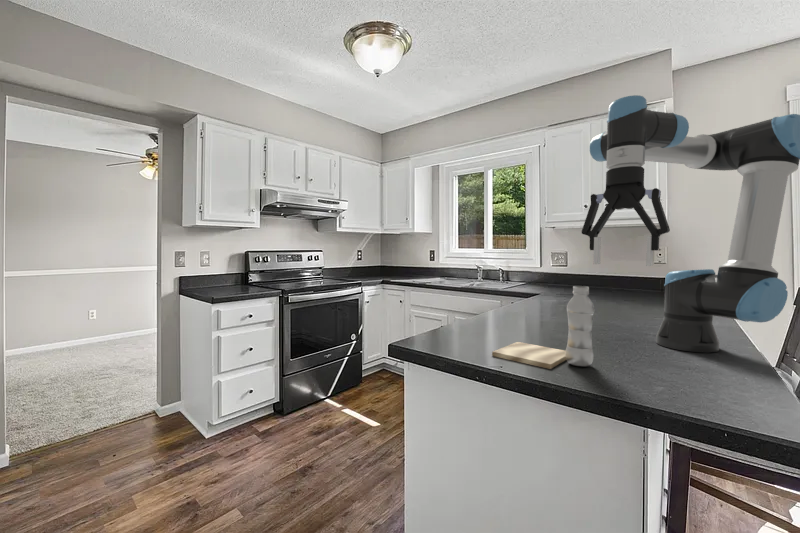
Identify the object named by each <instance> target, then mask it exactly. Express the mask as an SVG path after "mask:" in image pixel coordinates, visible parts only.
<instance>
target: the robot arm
mask: <svg viewBox="0 0 800 533" xmlns="http://www.w3.org/2000/svg"><path fill="white" fill-rule="evenodd" d="M608 106H609V107H608V112H607V120H606V123H607V129H606V130H607V131H603V132H602V133H600V134H598V135H596V136H594V137H593V138H592V139H591V141H590V143H589V154H590V156H591V158H592V159H593V160H594V161H596V162H600V163H602V162H606V169H608V170H607V171H606V172H605V190H604V192H603V193H600V194H599V193H598V194H596V193H592V194H591V195H590V205H589V208H588V211H587V214H586V217H585V220H584V223H583V226H582V229H581V234H582V235H585V236H588V238H589V250H590V251H593V265H601V253H602V252H601V249H602V246H601V245H602V237H599V234H600V232H601V231H602V230H603V228H604V226H605V225H606V223H607V222H608V221H609V219H610V217H611V216H612V215H613V213H614V212H615V210H618V211H619V210H623V209H627V210H634V211H635V212H636V213H637V215H638V217H639V218H640V219H641V221H642V222H643V224H644V226H645V227H646V229H647V230H648V231H649V233H650V235H647V236H646V259H645V260H646V261H645V266H646V267H647V266H648V267H651V266H653V265H654V264H653V263H654V251H659V249H660V236H662V235H664V234H667V233H670V225H669V223H668V219H667V216H666V214H665V211H664V210H665V209H664V207H663V205H662V201H661V195H662V194H661V192H662V191H661V190H660V189H659V188H657V187H656V188H653V189H651V188H650V189H646V188H645V168H644V167H643V166H644V165H645V162H653V163H655V162H656V163H664V164H665V163H666V164H677V165H684V166H685V167H687V168H689V169H694V170H695V169H697V170H707V171H723V172H724V171H735V170H736V171H737V173H739V175H741V176H742V182H741V187H740V193H739V198H738V203H737V207H736V208H737V209H736V215H735V218H734V225H733V229H732V236H731V240H730V245H729V246H730V247H729V251H728V256H727V260H726V262H724V263H723V264H721V265H719V267H718V270H717V274H716V272H715V269H710V268H709V269H708V268H707V269H705V268H703V269H688V270H687V269H686V270H673V271H669V272H668V273H667V274H666V275H665V279H664V284H663V286H664V289H663V290H664V296H663V297H664V298H663V300H664V301H663V302H664V303H663V319H662V322H661V323H660V326H659V329H658V331H657V333H656V335H655V343H656V344H658V345H660V346H661V347H665V348H669V349H672V350H673V349H674V350H678V351H683V352H693V353H704V354H705V353H717V352H719V351H720V341H719V338H718V334H717V332H716V330H715V327H714V324H713V319H714V317H718V318H725V319H731V320H737V321H741V322H746V323H747V322H752V323H760V324H761V323H767V322H770V321H772V320H774V319H775V318H776V317H778V316H779V315H780V313H781V312H782V311H783V309H784V308H785V305H786V303H787V300H788V294H789V293H788V290H787V288H788V287H787V284H786V283H785V281H784V280H782V279H780V278H778V276H779V272H778V271H777V269H776V268H774V267H773V266H772V263H773V258H774V252H775V248H776V242H777V238H778V231H779V226H780V221H781V217H782V210H783V205H784V200H785V194H786V190H787V184H788V178H789V176H790V175H791V174H793V173H794V172H796V171H797V170H798V169H799V165H800V114H798V113H791V114H786V115H782V116H774V117H773V118H769V119H765V120H761V121H759V122H755V123H751V124H748V125H743V126H740V127H737V128H736V127H735V128H732V129H728V130H724V131H721V132H717V133H711V134H698V135H695V136H687V135H688V133H689V129H690V127H689V126H690V125H689V124H690V123H689V121H688V119H687V118H686V117H685V116H683V115H680V114H677V113H674V112H664V111H655V110H651V109H648V105H647V99H646V97H645V96H643V95H638V94H637V95H635V94H634V95H628V96H623V97H619V98H618V99H615V100H614V101H612V102H610V105H608ZM646 195H647V198H648V199H650V200H651V203H652V206H653V210H654V213H655V216H656V220H657V222H658V224H659V228H658V227H657V226H656V225H655V223H654V222H653V220H652V219H651V217H650V216H649V214H648V213H647V211H646V210H645V208H644V207H643V204H642V203H641V201H642V200H643V199H644V197H645V196H646ZM603 199H604V200H605V201H606V202H607V204H606V206H605V207H604V210H603V211H602V213H601V215H600V216H599V218H598V220H597V221H596V223H595V224H594V222H595V219H596V216H597V213H598V210H599V208H600V207H599V206H600V204H601V203H602V202H603ZM593 225H594V226H593Z"/></svg>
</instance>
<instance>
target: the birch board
mask: <svg viewBox="0 0 800 533" xmlns="http://www.w3.org/2000/svg"><path fill="white" fill-rule="evenodd" d="M565 352H566V349H558V348H552V347H549V346H542V345H537V344H531V343H526V342H522V341H521V342H520V341H516V342H513V343H511V344H507V345H506V346H503V347H500V348H498V349H496V350H492V352H491V353H492V354H491V356H492V357H495V358H500V359H503V360H509V361H513V362H518V363H522V364H527V365H531V366H534V367H540V368H544V369H548V370H551V369H553V368H555V367H557V366H558V365H560V364H562V363H563V362H565V361H567V360H566V355H565Z"/></svg>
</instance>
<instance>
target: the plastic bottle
mask: <svg viewBox="0 0 800 533" xmlns="http://www.w3.org/2000/svg"><path fill="white" fill-rule="evenodd" d="M572 294H573V296H572V297H571V299H570V300H569V301H568V302H567V305H566V315H567V324H568V332H567V333H568V335H567V343H566V344H567V345H566V348H565V351H566V352H565V355H566V360H565V361H567V363H568V364H570V365H572V366H575V367H590V366H591V365H592V364H593V361H594V357H595V356H594V350H593V340H592V339H593V338H592V333H593V332H592V329H593V321H594V315H595V314H594V313H595V309H596V308H595V306H594V302H592V300H591V299H590V297H589V295H590V287H589V286H586V285H583V286H582V285H573V286H572Z"/></svg>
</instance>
